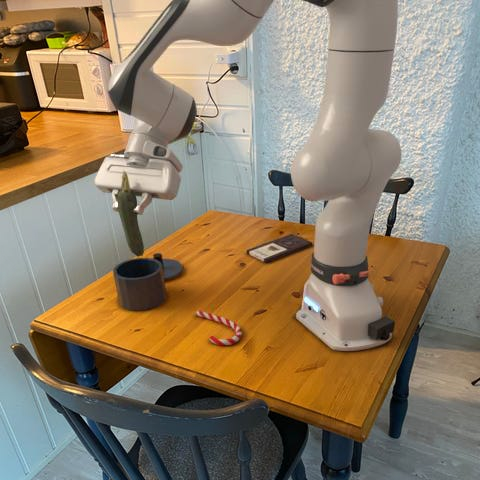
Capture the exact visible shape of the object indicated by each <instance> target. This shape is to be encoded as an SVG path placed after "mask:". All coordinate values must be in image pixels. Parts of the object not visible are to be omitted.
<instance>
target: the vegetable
mask: <svg viewBox="0 0 480 480" xmlns="http://www.w3.org/2000/svg"><path fill="white" fill-rule="evenodd" d="M123 173H124V174H123V176H122V185H121V189H122V190H121V191H120V192H119V194H118V197H117V205H118V211H119V212H118V215H119V218H120V221H121V225H122V229H123V233H124V236H125V241H126V243H127V245H128V248H129V250H130V253H132V254H133V255H135V256H136V258H140V257H143V256H144V254H145V250H144V249H145V246H144V241H143V236H142V232H141V230H140V226H139V219H138V214H135V213H134V212H133V209H134V208H135V204H138V199H137V196H135V194H134V193H133V192H132V191H131V190H129V189H130V185H129V181H128V176H127V174H126V172H125V171H123Z"/></svg>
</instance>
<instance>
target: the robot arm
mask: <svg viewBox="0 0 480 480" xmlns="http://www.w3.org/2000/svg"><path fill="white" fill-rule="evenodd" d="M275 1H276V0H171V1H170V2H169V3H168V5H167V6H166V7H165V8H164V9H163V11H161V12H160V15H159V16H157V18H156V19H155V21H154V22H153V23H152V24H151V26H150V27H149V29H147V31H146V32H145V34H143V37H141V39H140V40H139V42H137V44H136V45H135V47H134V48H133V49H132V51H130V53H129V54H128V55H127V56H126V57H125V58H124V59H123V61H122V62H121V63H120V64H119V65H117V67H116V68H115V69H114V70H113V72H112V74H111V76H110V79H109V81H108V85H107V93H108V97H109V99H110V102H111V103H112V105H113V107H114V109H115V110H117V111H119V112H121V113H123V114H125V115H128V116H129V117H133V118H135V119H134V128H133V130H132V131H131V133H130V135H129V137H128V140H127V143H126V147H125V150H124V153H120V154H119V153H111V154H110V155H108V156H106V157H105V158H104V159H103V162H102V163H101V165H100V167H99V169H98V170H97V173H96V175H95V178H94V181H93V182H94V185H95V187H96V188H97V189H98V190H100V192H102V193H105V194H111V196H112V200H113V203H112V206H111V209H112V210H113V211H114V212H116V213H119V211H118V205H117V197H118V194H119V192H120V191H121V190H122V189H121V185H122V176H123V174H124V173H123V171H125V172H126V174H127V176H128V181H129V185H130V189H129V190H131V191H132V192H133V193H134V194H135V196H136V197H141V198H142V199H141V200H140V202H138V203H137V204H135V208H134V209H133V212H134V213H135V214H137V215H140V216H142V215H144V211H145V209H146V208H147V207H149V205H150V204H152V201H153V199H157V200H158V199H159V200H167V201H173V200H175V198H177V196H178V193H179V190H180V187H181V182H182V181H181V180H182V176H181V175H182V174H181V172H182V171H183V168H184V167H183V163H182V161H181V160H180V159H179V158H178V156H177V155H176V154H175V153H174V152H173V150H171V149H170V148H168V147H169V143H170V141H177V140H180V139H182V138H185V137H187V136H188V135H189V134H190V133H191V131H192V129H193V126H194V124H195V122H196V121H195V120H196V117H197V114H198V107H197V104H196V100H195V98H194V96H192V95H191V94H190V93H189V92H187V91H185V90H184V89H183V88H181V87H179V86H178V85H176V84H174V83H171V82H170V81H168V80H167V79H165V78H164V77H162V76H160V75H159V74H157V73H156V72H154V71H152V70H151V68H153V66H154V65H155V64H156V63H157V61H159V59H160V58H161V57H162V55H163V54H164V53H165V52H166V50H167V49H168V48H169V47H170V46H171V45H172V44H173V43H175V42H178V41H196V42H200V43H205V44H209V45H212V46H217V47H231V46H236V45H239V44H241V43H243V42H245V41H246V40H247V39H248V38H249V37H251V35H252V34H253V33H254V31H255V30H256V29H257V28H258V26H259V25H260V24H261V22H262V20H263V18H264V17H265V16H266V14H267V13H268V11H269V9H270V8H271V6H272V5H273V3H274V2H275ZM302 1H303V2H306V3H309V4H311V5H314V6H316V7H319V8H325V9H326V11H327V13H328V17H329V36H328V46H327V57H326V68H325V76H324V77H325V78H324V85H323V86H324V87H323V94H322V100H321V104H320V108H319V110H318V114H317V116H316V120H315V122H314V125H313V127H312V129H311V132H310V134H309V135H308V138H307V140H306V141H305V143H304V144H303V146H302V147H301V148H300V150H298V152H296V154H295V156H294V157H293V159H292V162H291V166H290V178H291V183H292V185H293V189H294V190H295V192H296V193H297V194H298V195H299V197H301V198H302V199H303V200H306V201H308V202H327V203H326V204H325V206H324V208H323V209H322V210H321V212H320V213H319V214H318V216H317V218H316V221H315V225H314V226H315V227H314V241H313V242H314V243H313V252H312V254H311V259H310V272H311V273H310V276H308V279H307V280H306V282H305V283H304V287H303V294H302V302H301V308H300V309H299V310H298V311H297V312H296V314H295V319H296V320H297V321H299V323H301V324H302V325H303V326H304V327H305V328H306V329H308V330H309V331H310V332H311V333H312V334H313V335H314V336H316V337H317V338H318V339H319V340H321V341H322V342H323V343H324V344H325V345H326V346H327V347H329V348H330V349H332V350H333V351H339V352H356V351H362V350H368V349H372V348H376V347H379V346H382V345H384V344H386V343H388V342H389V341H390V340H392V336H393V334H392V333H393V332H394V329H395V325H396V320H395V319H392V318H390V317H389V316H387V315H385V316H383V309H382V308H383V306H384V299H383V297H382V296H377V295H376V292H375V289H374V288H375V285H374V284H373V283H371V281H370V279H369V277H370V276H371V274H370V273H371V270H370V269H369V267H370V266H369V261H368V255H367V253H368V252H367V251H368V244H369V238H370V231H371V226H372V222H373V218H374V215H375V212H376V210H377V207H378V204H379V202H380V199H381V197H382V194H383V193H384V190H385V188H386V186H387V184H388V182H389V181H390V179H391V178H392V177H393V175H394V174H395V173H396V172H397V170H398V168H399V167H400V165H401V162H402V146H401V144H400V142H399V140H398V138H397V137H396V136H395V135H394V134H393V133H392V132H391V131H387V130H383V129H375V128H374V129H373V128H370V127H371V124H372V123H373V120H374V119H375V117H376V115H377V114H378V112H379V111H380V110H381V109H382V108H383V106H384V105H385V103H386V101H387V99H388V96H389V89H390V83H391V82H390V81H391V75H392V69H393V61H394V55H395V48H396V41H397V31H398V17H399V0H302Z"/></svg>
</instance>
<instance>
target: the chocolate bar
mask: <svg viewBox="0 0 480 480" xmlns="http://www.w3.org/2000/svg"><path fill="white" fill-rule="evenodd" d="M311 246H313V241H311V240H308V239H306V238H303V237H301V236H298V235H295V234H293V233H290V234H287V235H284V236H282V237H279V238H275V239H274V240H270V241H268V242H265V243H263V244H260V245H257V246H254V247H252V248H251V247H250V248H249V249H246V254H247V255H249V256H252V257H254V258H256V259H258V260H259V261H261V262H263V263H266V264H269V263H271V262H274V261H276V260H279V259H281V258H283V257H286V256H289V255H291V254H294V253H296V252H299V251H302V250H304V249H306V248H309V247H311Z"/></svg>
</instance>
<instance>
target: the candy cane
mask: <svg viewBox="0 0 480 480" xmlns="http://www.w3.org/2000/svg"><path fill="white" fill-rule="evenodd" d="M195 316H196V317H200V318H203V319H207V320H209V321H213V322H217V323H219V324H223V325H225V326H228V327H229V328H231V329H232V330H234V332H235V334H234V336H232V337H230V338H225V339H219V338H216V337H215V336H214V335H210V336H209V341H210V342H211V343H213V344H215V345H217V346H231V345H235V344H236V343H237V342H238V341H239V340H241V338H242V335H243V332H242V331H243V330H242V329H241V327H240V325H238V324H237V323H235V322H234V321H232V320H230V319H229V318H225V317H222V316H219V315H216V314H213V313H209V312H205V311H202V310H197V311H196V312H195Z"/></svg>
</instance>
